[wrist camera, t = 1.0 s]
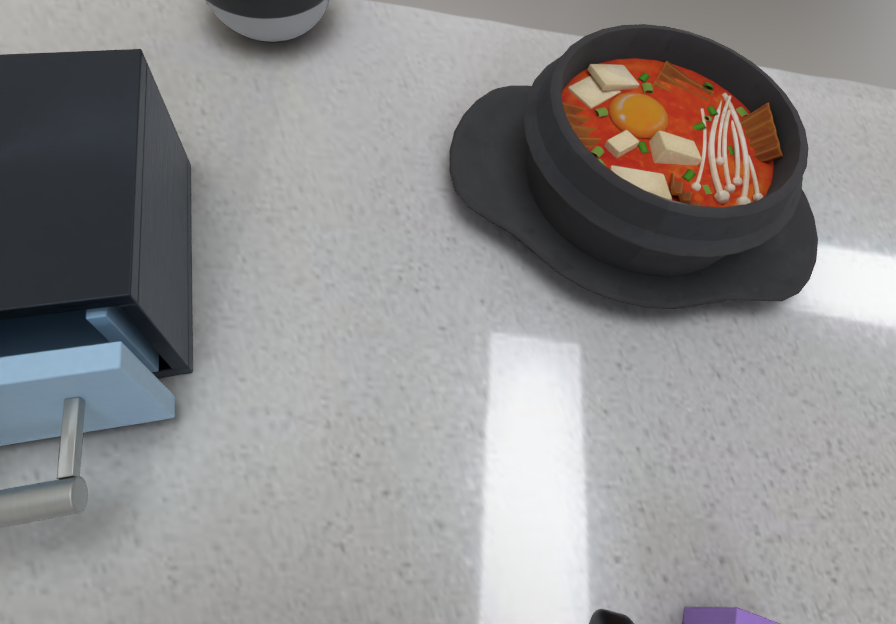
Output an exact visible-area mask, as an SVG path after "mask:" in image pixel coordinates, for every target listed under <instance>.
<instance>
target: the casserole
mask: <svg viewBox="0 0 896 624" xmlns="http://www.w3.org/2000/svg"><path fill="white" fill-rule="evenodd" d="M807 157H808V144H807V138H806V132H805V129H804V126H803V124H802V121H801V119H800V117H799V114H798V112H797V110H796V109H795V107H794V106H793V104H792V103H791V101H790V100H789V98H788V97H787V95H786V94H785V93H784V92H783V90H782V89H781V88H780V87H779V86H778V85H777V84H776V83H775V82H774V81H773V80H772V78H771V77H769V76H768V75H767V74H766V73H765V72H763V71H762V70H761V69H760V68H759V67H757V66H756V65H755V64H754V63H752V62H751V61H749V60H748V59H746V58H745V57H743V56H742V55H740V54H738V53H737V52H735V51H733V50H732V49H730V48H728V47H726V46H724V45H722V44H719V43H717V42H715V41H713V40H711V39H708V38H706V37H703V36H700V35H697V34H694V33H691V32H688V31H684V30H679V29H675V28H670V27H665V26H655V25H645V24H644V25H643V24H642V25H622V26H617V27H611V28H606V29H602V30H600V31H597V32H595V33H592V34H590V35H587V36H585V37H583V38H582V39H580V40H579V41H577V42H576V43H574V44H573V45H571V46H570V47H569V49H568V50H567V51H566V52H565V53H564V54H563V55H562V56H561V57H560V58H558V59H557V60H555V61H554V62H552V63H551V64H549V65H548V66H547V67H546V68H545V69H544V70H543V71H542V72H541V74H540V75H539V76H538V77H537V78H536V79H535V81H534V83H533V85H532V86H507V87H502V88H497V89H495V90H492V91H490V92H489V93H487V94H486V95H484V96H483V97H481V98H480V99H478V100H477V101H476V102H475V103H474V104H473V105H472V106H471V107H470V108H469V109H468V110H467V112H466V113H465V114H464V115H463V117H462V119H461V121H460V122H459V124H458V126H457V128H456V130H455V131H454V135H453V140H452V144H451V148H450V174H451V177H452V181H453V184H454V188H455V191H456V192H457V193H458V194H459V196H460V197H461V198H462V200H463V201H464V202H465V204H466V205H467V206H468V207H469V208H471V209H472V210H474V211H475V212H477V213H478V214H480V215H481V216H483V217H485V218H486V219H488V220H489V221H491V222H493V223H494V224H496V225H498V226H499V227H501V228H503V229H504V230H506V231H508V232H510V233H511V234H513V235H515V236H516V237H517V238H518V239H519V240H520V241H522V242H523V243H524V244H525V245H526V246H528V247H529V248H530V249H531V250H532V251H533V252H535V253H536V254H537V255H538V256H539V257H540V258H542V259H543V260H544V261H545V262H546V263H548V264H549V265H550V266H551V267H552V268H553V269H555V270H556V271H557V272H558V273H559V274H561V275H563V276H564V277H566V278H568V279H570V280H571V281H573V282H575V283H576V284H578V285H580V286H581V287H583V288H585V289H587V290H589V291H592V292H594V293H597V294H599V295H602V296H604V297H607V298H609V299H612V300H615V301H618V302H623V303H628V304H632V305H637V306H641V307H648V308H672V309H676V308H683V307H689V306H695V305H702V304H708V303H714V302H720V301H726V300H752V301H783V300H785V299H787V298H789V297H792V296H794V295H796V294H798V293H799V292H800V291H801V290H802V288H803V287H804V286H805V284H806V283H807V282H808V281H809V279H810V276H811V274H812V271H813V268H814V265H815V262H816V256H817V244H818V237H817V231H816V225H815V220H814V216H813V213H812V211H811V208H810V205H809V203H808V200H807V198H806V196H805V194H804V192H803V190H802V179H803V177H802V176H803V174H804V171H805V169H806V167H807Z"/></svg>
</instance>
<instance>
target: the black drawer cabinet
mask: <svg viewBox="0 0 896 624" xmlns="http://www.w3.org/2000/svg"><path fill="white" fill-rule="evenodd" d="M114 306H118V308H119V309H120V310H121V311H122V312H123V313H124V314H125V316H126V317H127V318H128V319H129V320H130V321H131V322H132V324H133V325H134V326H135V327H136V328H137V329H138V330H139V332H140V333H141V334H142V335H143V336H144V337H145V338H146V340H147V341H148V342H149V343H150V344H151V345H152V346H153V347H154V349H155V350H156V351H157V352H158V353H159V371H158V372H152V373H153V374H154V375H155V376H156V377H157V378H158V377H165V376H172V375H178V374H185V373H192V371H193V358H192V262H191V166H190V162H189V160H188V158H187V155H186V153H185V150H184V148H183V146H182V143H181V141H180V139H179V136H178V134H177V132H176V129H175V127H174V125H173V122H172V120H171V118H170V115H169V113H168V111H167V108H166V106H165V104H164V101H163V99H162V97H161V94H160V92H159V90H158V87H157V85H156V82H155V80H154V78H153V75H152V73H151V71H150V68H149V66H148V64H147V63H146V59H145V57H144V54H143V52H142V50H141V49H131V50H106V51H81V52H56V53H31V54H7V55H0V320H7V319H15V318H24V317H32V316H40V315H48V314H56V313H65V312H73V311H81V310H89V309H97V308H106V307H114Z"/></svg>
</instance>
